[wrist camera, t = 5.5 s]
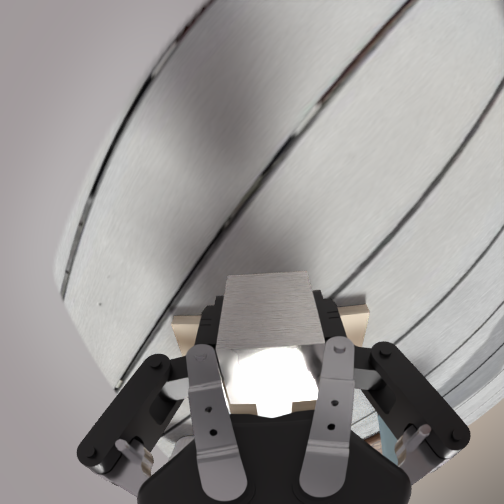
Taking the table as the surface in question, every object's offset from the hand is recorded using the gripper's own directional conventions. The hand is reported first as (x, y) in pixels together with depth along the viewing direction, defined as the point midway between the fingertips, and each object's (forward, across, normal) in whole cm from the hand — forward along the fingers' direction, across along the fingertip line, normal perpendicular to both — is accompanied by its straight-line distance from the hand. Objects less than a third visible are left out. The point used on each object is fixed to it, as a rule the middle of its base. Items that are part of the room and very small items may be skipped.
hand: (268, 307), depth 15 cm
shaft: (0, 0, +11) cm, 11 cm away
